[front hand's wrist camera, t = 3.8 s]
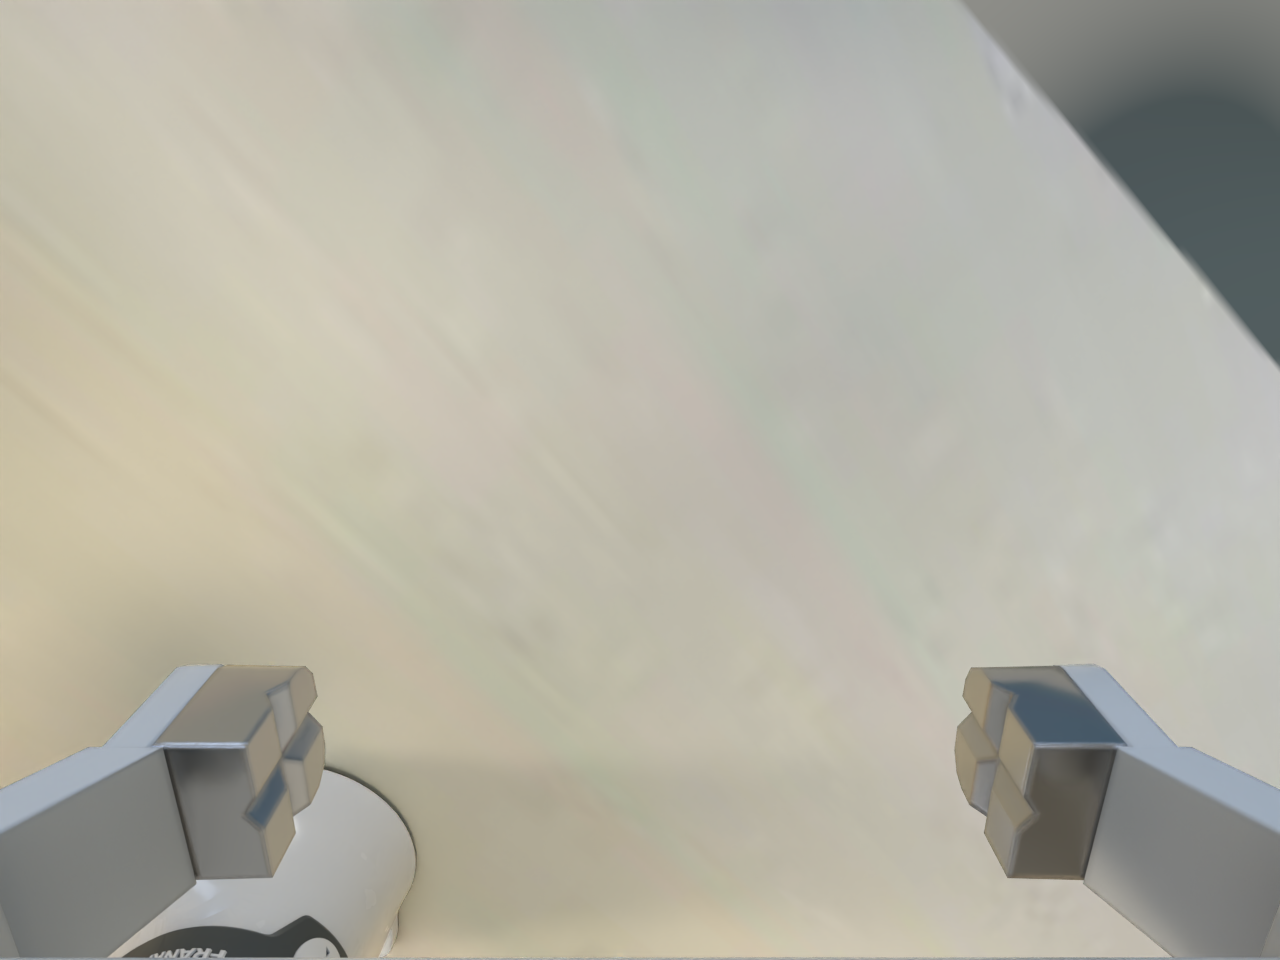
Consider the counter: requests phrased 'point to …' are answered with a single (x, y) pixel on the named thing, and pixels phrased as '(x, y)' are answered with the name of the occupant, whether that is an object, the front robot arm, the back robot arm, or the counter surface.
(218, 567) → the counter surface
